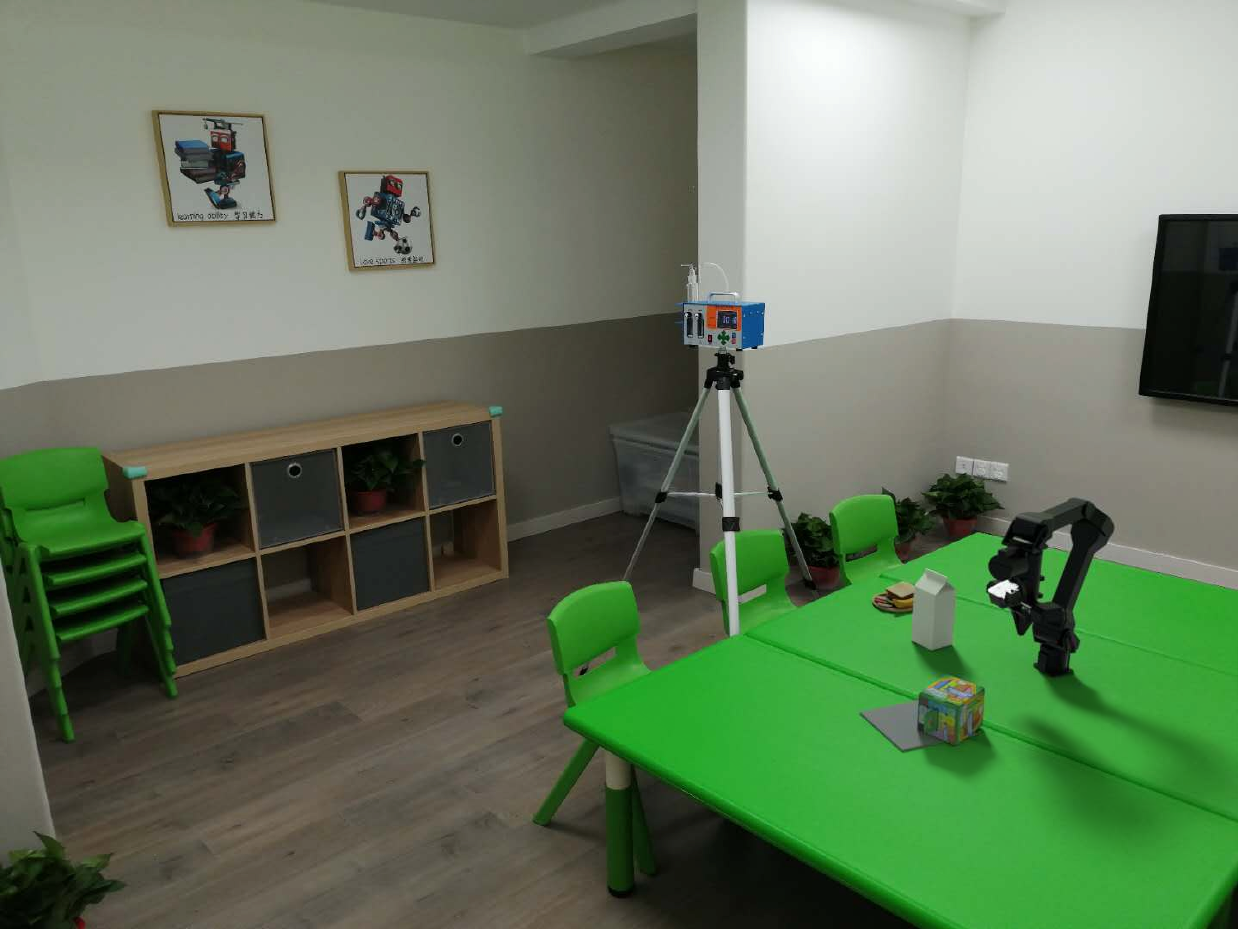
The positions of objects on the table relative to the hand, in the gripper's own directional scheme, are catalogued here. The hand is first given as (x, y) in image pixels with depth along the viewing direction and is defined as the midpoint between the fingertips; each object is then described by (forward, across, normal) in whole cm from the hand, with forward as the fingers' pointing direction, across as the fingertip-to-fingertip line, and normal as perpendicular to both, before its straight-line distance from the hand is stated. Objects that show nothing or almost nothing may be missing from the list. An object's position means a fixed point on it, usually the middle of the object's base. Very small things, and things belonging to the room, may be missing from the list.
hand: (1020, 635), depth 212 cm
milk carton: (+13, -26, -4) cm, 29 cm away
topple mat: (+13, +6, -30) cm, 34 cm away
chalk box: (+8, +8, -20) cm, 23 cm away
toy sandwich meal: (+14, -50, +2) cm, 52 cm away
